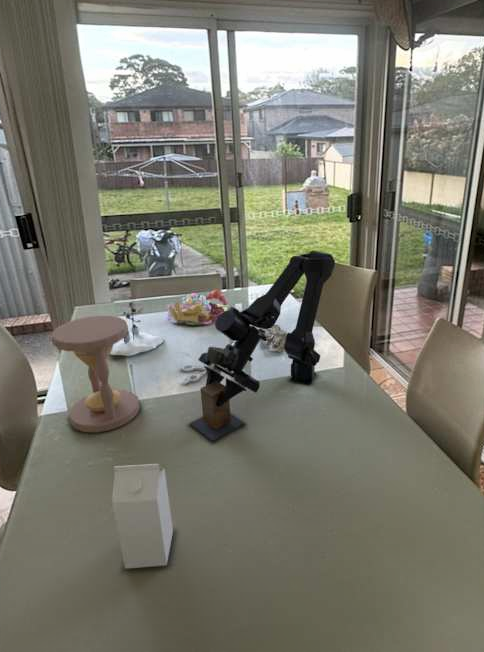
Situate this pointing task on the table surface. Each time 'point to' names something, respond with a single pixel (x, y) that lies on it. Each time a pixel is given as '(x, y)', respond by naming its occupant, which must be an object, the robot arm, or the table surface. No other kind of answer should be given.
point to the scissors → (193, 374)
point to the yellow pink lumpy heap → (197, 309)
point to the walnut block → (214, 406)
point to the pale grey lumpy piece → (275, 339)
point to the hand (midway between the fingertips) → (210, 401)
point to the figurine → (135, 339)
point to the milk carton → (142, 515)
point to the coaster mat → (218, 433)
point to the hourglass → (97, 372)
